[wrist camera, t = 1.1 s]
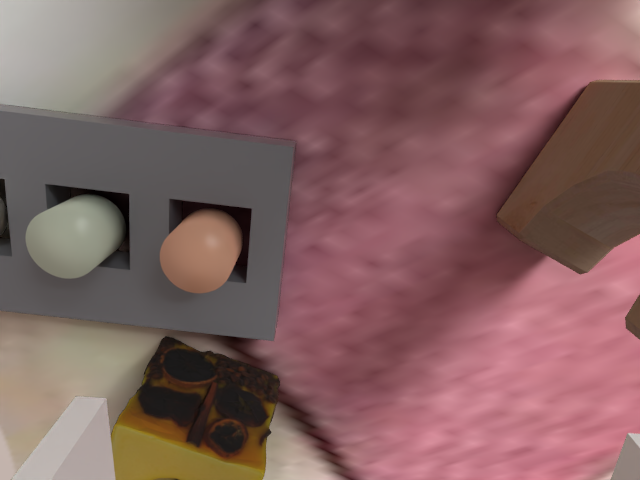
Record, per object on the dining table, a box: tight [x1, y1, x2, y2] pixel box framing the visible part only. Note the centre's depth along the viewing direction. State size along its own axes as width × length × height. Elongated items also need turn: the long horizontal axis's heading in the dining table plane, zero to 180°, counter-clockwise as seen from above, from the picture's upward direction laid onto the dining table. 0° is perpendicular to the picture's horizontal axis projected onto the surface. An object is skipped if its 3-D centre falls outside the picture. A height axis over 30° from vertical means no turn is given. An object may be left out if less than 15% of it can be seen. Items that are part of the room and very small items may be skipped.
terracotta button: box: [160, 208, 243, 293], centre depth 30 cm, size 4×4×4 cm
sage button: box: [26, 194, 126, 279], centre depth 30 cm, size 4×4×4 cm
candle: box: [111, 336, 280, 480], centre depth 35 cm, size 10×10×10 cm
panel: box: [0, 104, 296, 341], centre depth 33 cm, size 14×26×3 cm, turn 83°
